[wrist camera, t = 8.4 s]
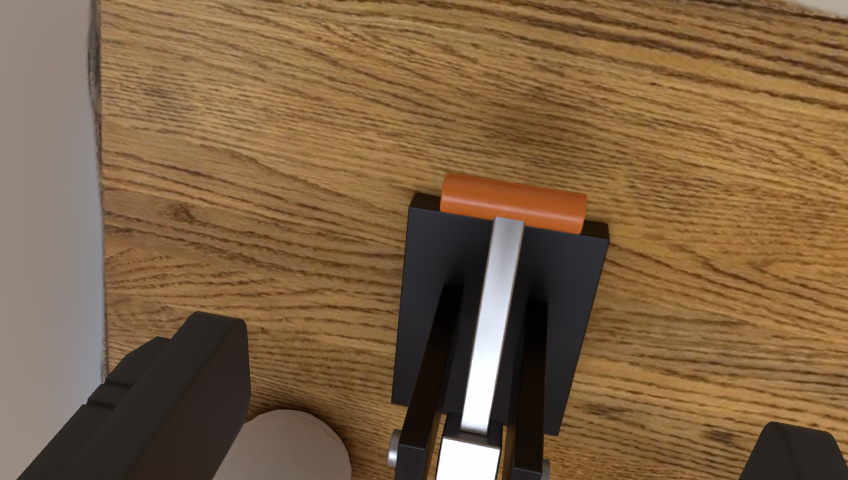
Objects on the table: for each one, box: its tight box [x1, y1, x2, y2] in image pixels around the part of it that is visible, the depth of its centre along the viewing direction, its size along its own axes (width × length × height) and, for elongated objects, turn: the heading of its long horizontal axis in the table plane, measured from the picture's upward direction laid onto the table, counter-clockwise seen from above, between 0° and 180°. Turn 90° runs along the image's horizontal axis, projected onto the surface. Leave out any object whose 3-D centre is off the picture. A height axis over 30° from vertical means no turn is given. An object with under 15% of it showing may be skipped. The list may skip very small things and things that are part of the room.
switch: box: [435, 173, 587, 480], centre depth 25 cm, size 12×5×2 cm, turn 175°
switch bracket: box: [387, 193, 610, 480], centre depth 29 cm, size 12×9×12 cm
